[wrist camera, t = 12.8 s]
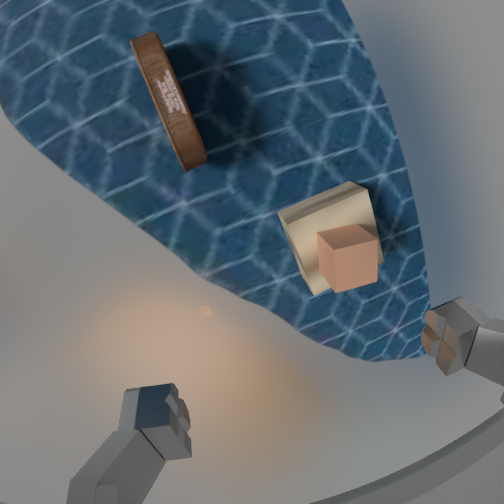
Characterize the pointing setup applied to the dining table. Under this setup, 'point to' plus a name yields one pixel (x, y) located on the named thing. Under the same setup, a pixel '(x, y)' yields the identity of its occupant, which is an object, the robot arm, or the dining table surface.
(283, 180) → the dining table surface
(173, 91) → the tin
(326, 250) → the cube
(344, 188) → the base block
